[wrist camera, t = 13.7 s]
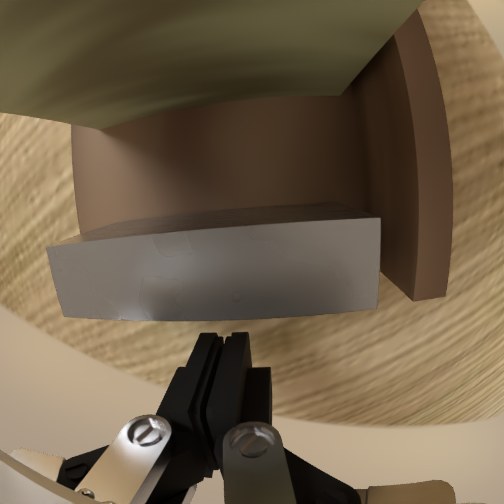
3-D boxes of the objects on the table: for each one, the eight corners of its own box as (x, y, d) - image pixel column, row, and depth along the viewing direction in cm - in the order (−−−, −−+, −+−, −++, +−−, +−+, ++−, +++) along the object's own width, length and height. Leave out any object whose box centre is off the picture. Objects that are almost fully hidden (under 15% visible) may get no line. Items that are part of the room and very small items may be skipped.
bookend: (125, 273, 10) (64, 316, 6) (116, 222, 10) (46, 246, 6) (338, 259, 10) (376, 308, 6) (336, 202, 9) (380, 217, 5)
